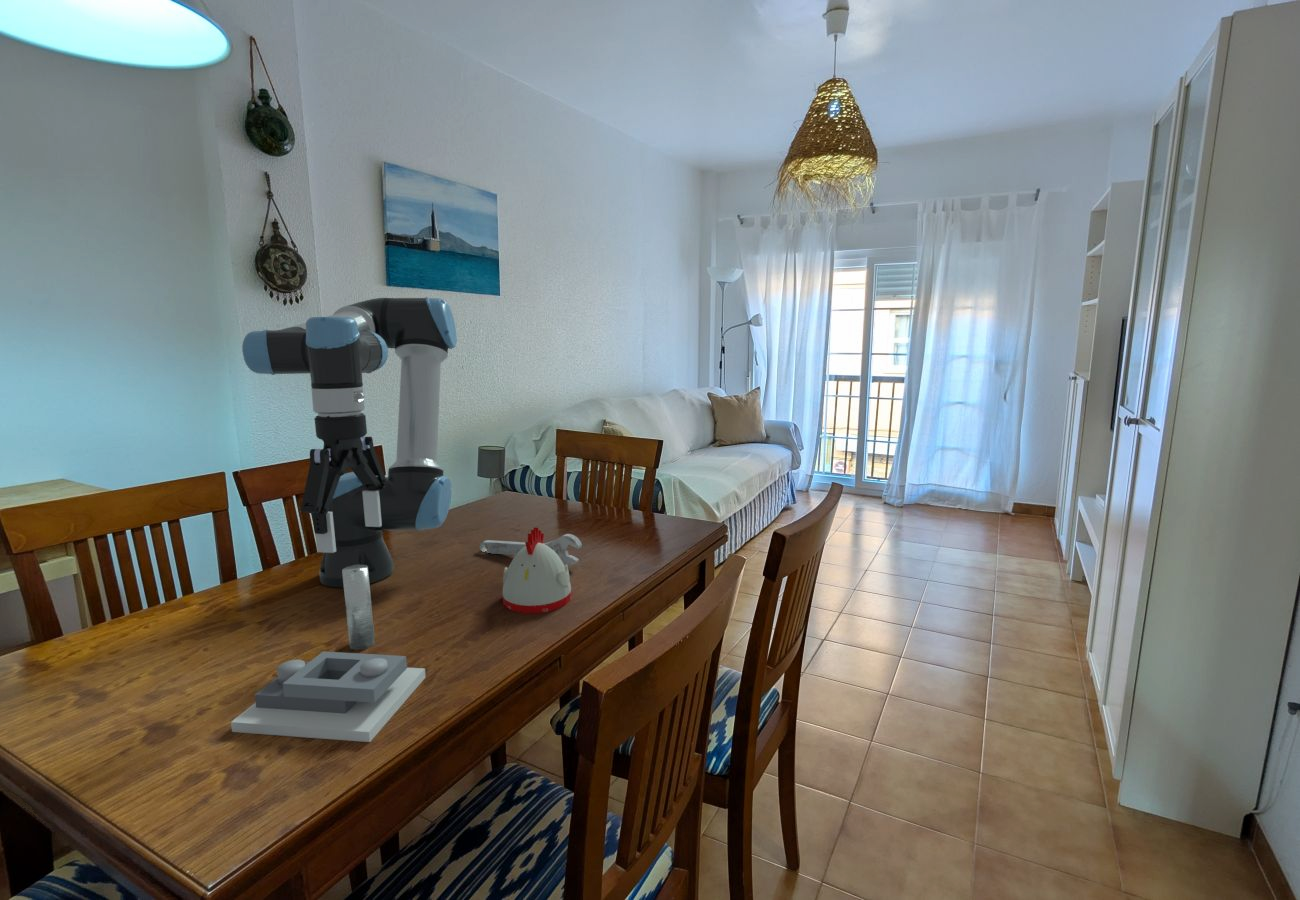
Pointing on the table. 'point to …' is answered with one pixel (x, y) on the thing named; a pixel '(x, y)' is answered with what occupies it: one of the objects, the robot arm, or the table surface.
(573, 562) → the wrench
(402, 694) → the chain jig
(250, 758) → the table surface
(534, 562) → the kitchen timer
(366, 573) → the pin
